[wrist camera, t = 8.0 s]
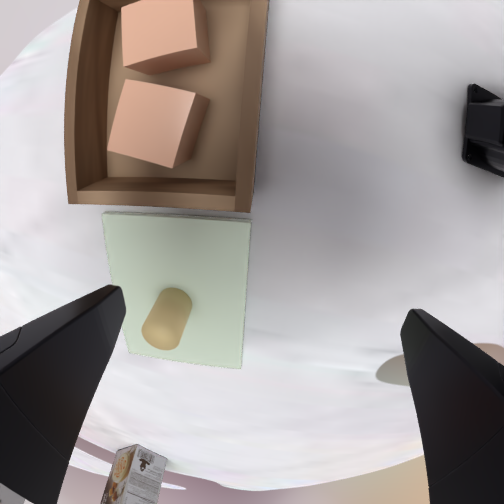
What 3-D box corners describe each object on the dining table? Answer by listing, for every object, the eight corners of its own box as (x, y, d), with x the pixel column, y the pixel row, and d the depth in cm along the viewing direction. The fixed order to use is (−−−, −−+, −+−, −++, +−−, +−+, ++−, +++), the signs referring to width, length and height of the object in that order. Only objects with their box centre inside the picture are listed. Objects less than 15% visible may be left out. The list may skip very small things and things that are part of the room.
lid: (251, 217, 20) (247, 248, 15) (241, 359, 26) (237, 403, 21) (109, 209, 20) (72, 234, 15) (133, 344, 26) (114, 382, 21)
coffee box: (145, 464, 41) (128, 529, 26) (116, 449, 39) (95, 517, 24) (168, 458, 38) (151, 535, 23) (136, 443, 36) (113, 522, 21)
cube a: (205, 10, 13) (191, -14, 9) (210, 62, 14) (197, 47, 11) (146, 24, 13) (121, 7, 10) (149, 75, 15) (123, 66, 11)
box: (269, -6, 12) (270, -37, 8) (253, 192, 18) (250, 212, 14) (114, 8, 13) (82, -11, 8) (103, 186, 19) (68, 204, 14)
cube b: (210, 99, 15) (195, 93, 12) (190, 159, 17) (172, 168, 14) (152, 85, 15) (125, 79, 12) (135, 143, 17) (106, 150, 13)
